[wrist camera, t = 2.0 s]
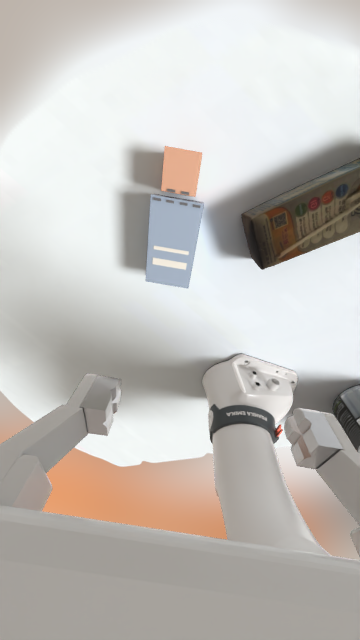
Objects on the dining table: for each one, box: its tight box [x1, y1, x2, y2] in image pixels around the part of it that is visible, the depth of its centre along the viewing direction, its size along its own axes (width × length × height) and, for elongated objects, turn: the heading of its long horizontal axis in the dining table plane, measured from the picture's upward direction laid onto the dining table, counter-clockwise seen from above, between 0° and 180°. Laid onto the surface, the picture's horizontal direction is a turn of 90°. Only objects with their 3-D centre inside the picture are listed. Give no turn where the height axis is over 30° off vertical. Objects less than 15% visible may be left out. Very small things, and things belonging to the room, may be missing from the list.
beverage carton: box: [242, 158, 360, 270], centre depth 27 cm, size 8×19×7 cm, turn 115°
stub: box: [161, 146, 202, 197], centre depth 26 cm, size 4×4×5 cm
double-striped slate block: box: [146, 194, 204, 288], centre depth 31 cm, size 7×12×5 cm, turn 172°
